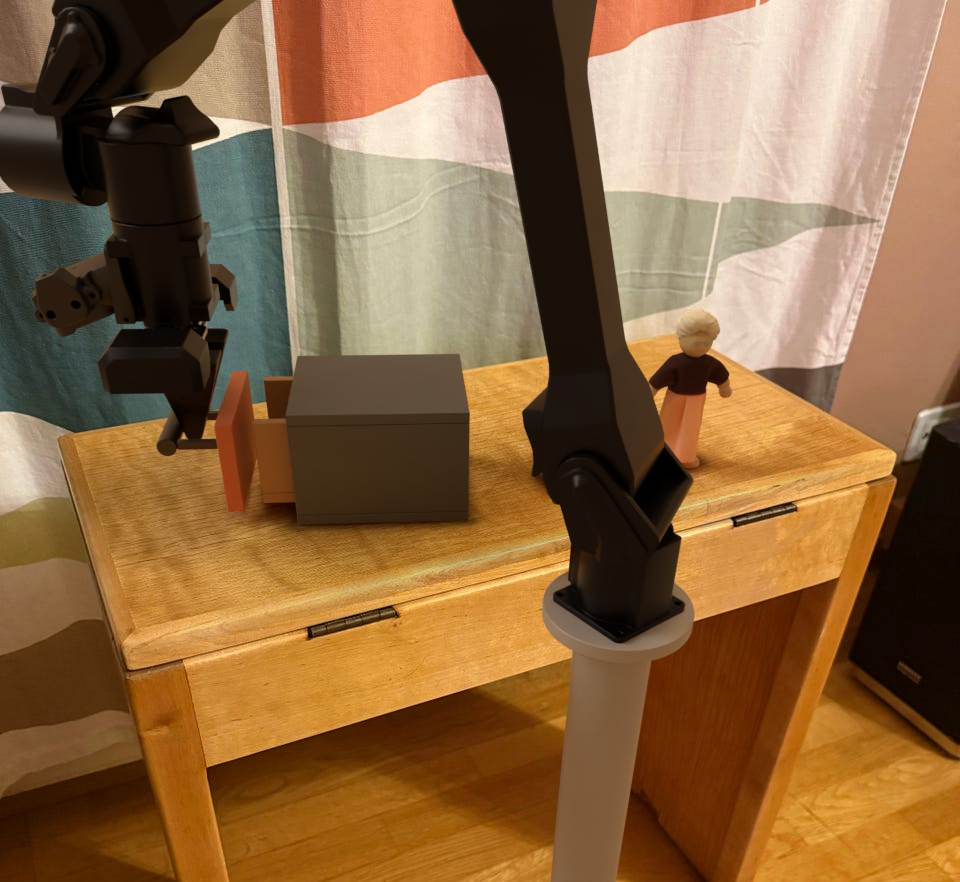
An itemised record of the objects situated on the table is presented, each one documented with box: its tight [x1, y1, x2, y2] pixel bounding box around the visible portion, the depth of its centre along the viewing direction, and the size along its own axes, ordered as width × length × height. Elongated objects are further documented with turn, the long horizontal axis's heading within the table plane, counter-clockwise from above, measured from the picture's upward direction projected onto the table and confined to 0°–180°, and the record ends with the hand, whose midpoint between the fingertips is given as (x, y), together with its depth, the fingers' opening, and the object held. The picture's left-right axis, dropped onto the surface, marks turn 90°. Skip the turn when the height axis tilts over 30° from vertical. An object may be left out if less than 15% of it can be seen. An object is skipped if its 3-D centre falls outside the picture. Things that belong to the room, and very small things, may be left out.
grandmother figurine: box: [648, 307, 733, 469], centre depth 75 cm, size 8×4×13 cm, turn 114°
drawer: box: [155, 370, 295, 513], centre depth 71 cm, size 16×10×7 cm, turn 95°
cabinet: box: [285, 353, 471, 526], centre depth 72 cm, size 13×11×9 cm
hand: (195, 437), depth 71 cm, fingers closed, pressing on drawer
